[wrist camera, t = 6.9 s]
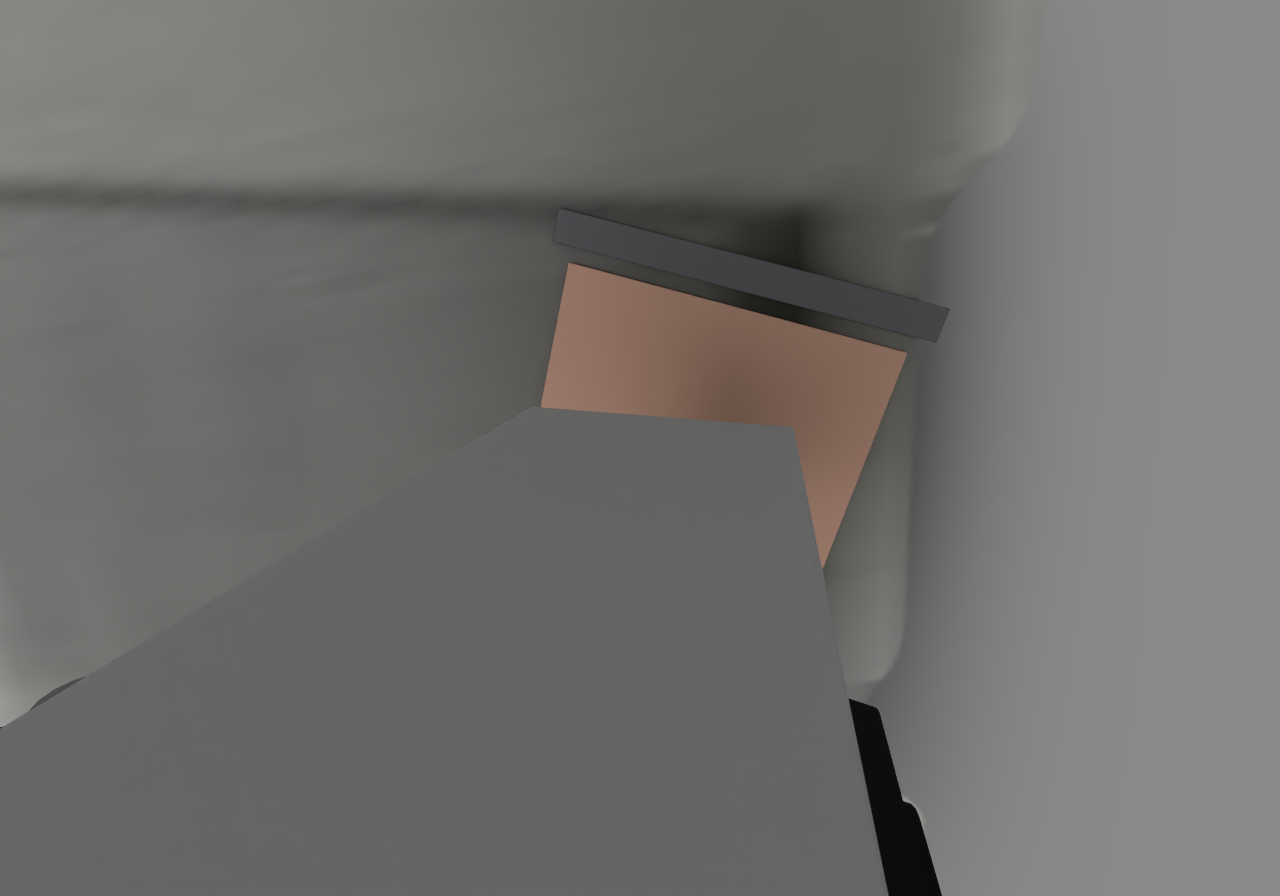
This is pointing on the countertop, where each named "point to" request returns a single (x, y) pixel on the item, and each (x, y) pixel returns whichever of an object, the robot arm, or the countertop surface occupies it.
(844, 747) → the milk carton
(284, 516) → the countertop surface
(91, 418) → the countertop surface
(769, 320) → the mat
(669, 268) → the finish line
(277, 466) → the countertop surface
